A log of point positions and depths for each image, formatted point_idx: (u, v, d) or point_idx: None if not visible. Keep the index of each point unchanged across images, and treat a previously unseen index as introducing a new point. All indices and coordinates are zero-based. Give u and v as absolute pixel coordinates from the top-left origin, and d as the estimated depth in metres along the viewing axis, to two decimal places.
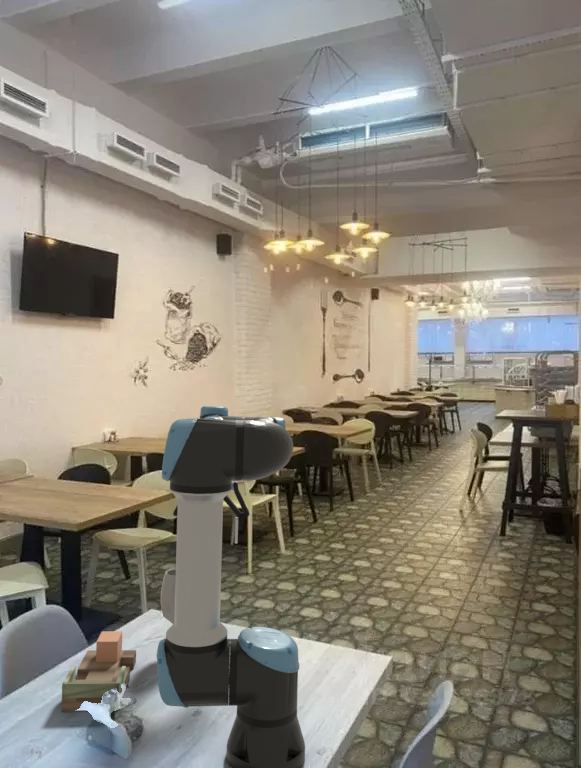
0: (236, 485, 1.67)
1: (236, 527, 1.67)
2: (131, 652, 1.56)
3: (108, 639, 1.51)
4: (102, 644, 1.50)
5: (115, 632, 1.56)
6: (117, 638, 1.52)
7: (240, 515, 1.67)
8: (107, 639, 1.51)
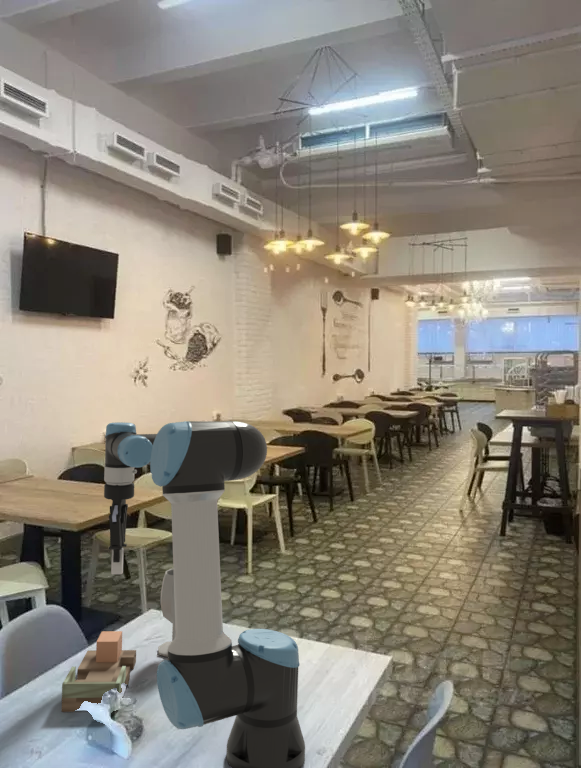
0: None
1: None
2: (131, 652, 1.56)
3: (108, 639, 1.51)
4: (102, 644, 1.50)
5: (115, 632, 1.56)
6: (117, 638, 1.52)
7: None
8: (107, 639, 1.51)
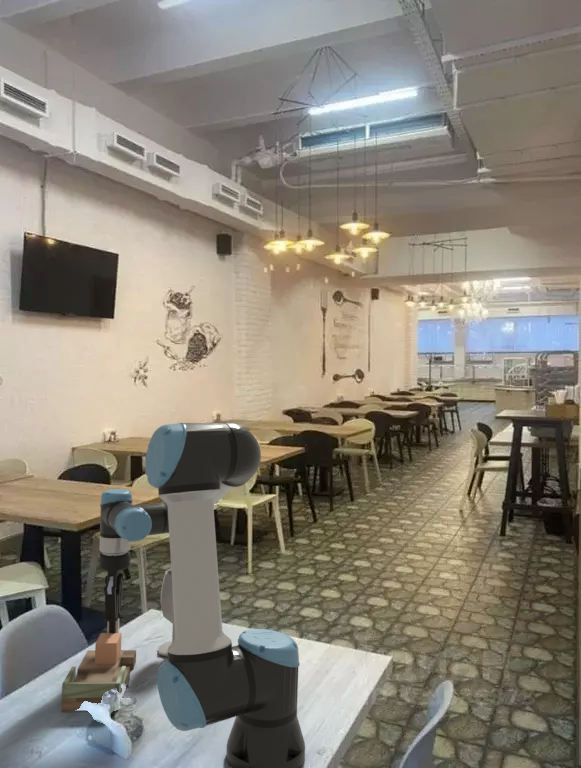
0: None
1: None
2: (131, 652, 1.56)
3: (107, 641, 1.50)
4: (101, 645, 1.49)
5: (114, 633, 1.55)
6: (116, 640, 1.51)
7: None
8: (106, 641, 1.50)
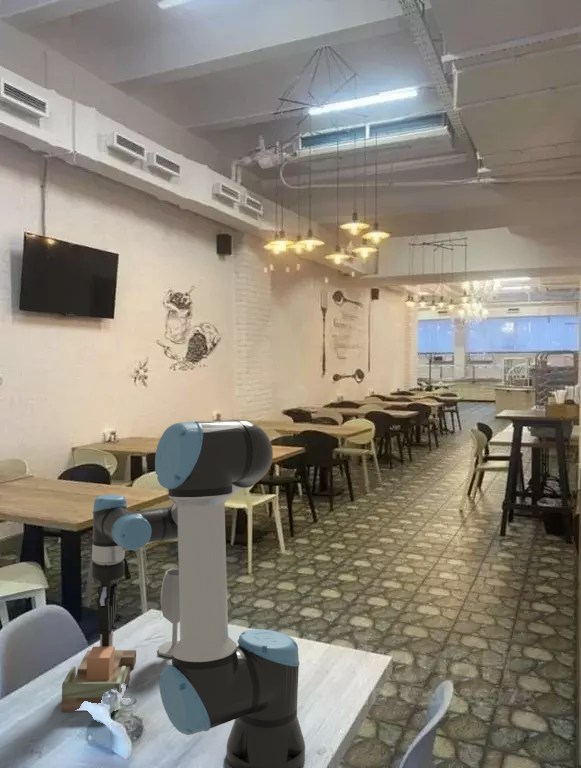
0: None
1: None
2: (131, 652, 1.56)
3: (99, 656, 1.42)
4: (92, 660, 1.41)
5: (107, 647, 1.47)
6: (109, 654, 1.43)
7: None
8: (98, 655, 1.43)
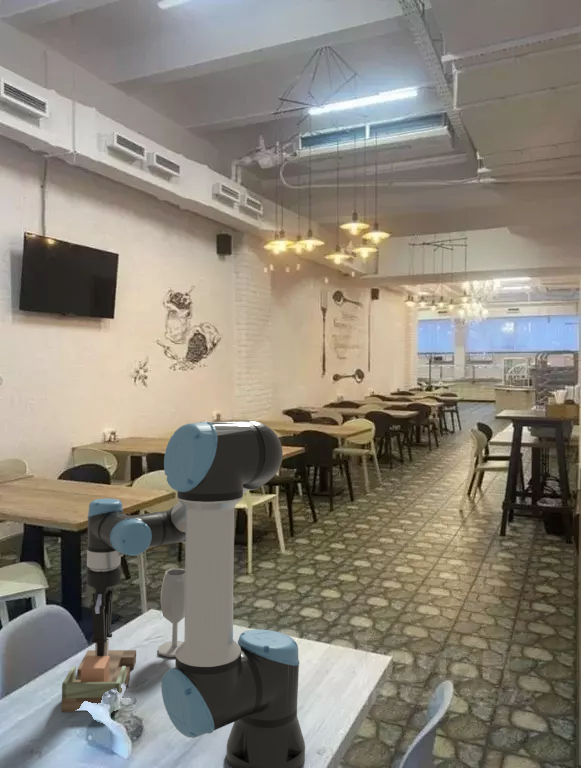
0: None
1: None
2: (131, 652, 1.56)
3: (94, 666, 1.37)
4: (87, 671, 1.36)
5: (102, 656, 1.42)
6: (104, 664, 1.38)
7: None
8: (92, 665, 1.38)
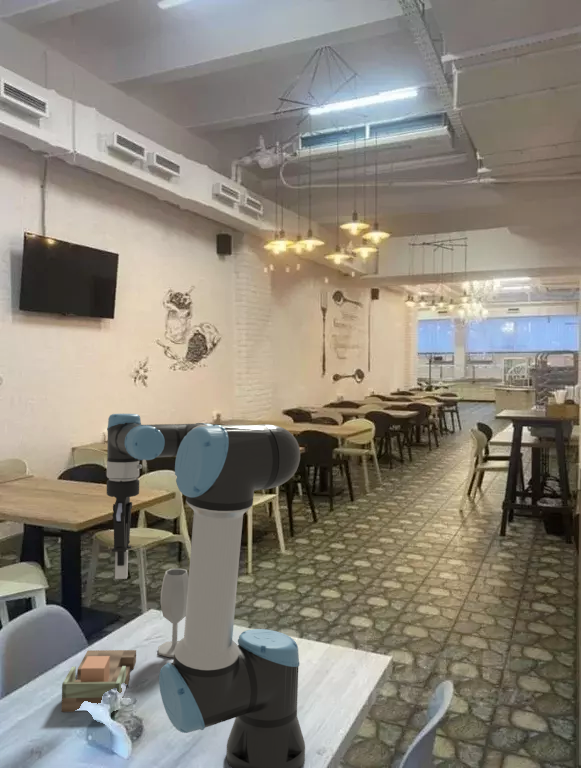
0: None
1: None
2: (131, 652, 1.56)
3: (94, 666, 1.37)
4: (86, 671, 1.36)
5: (102, 656, 1.42)
6: (104, 664, 1.38)
7: None
8: (92, 665, 1.38)
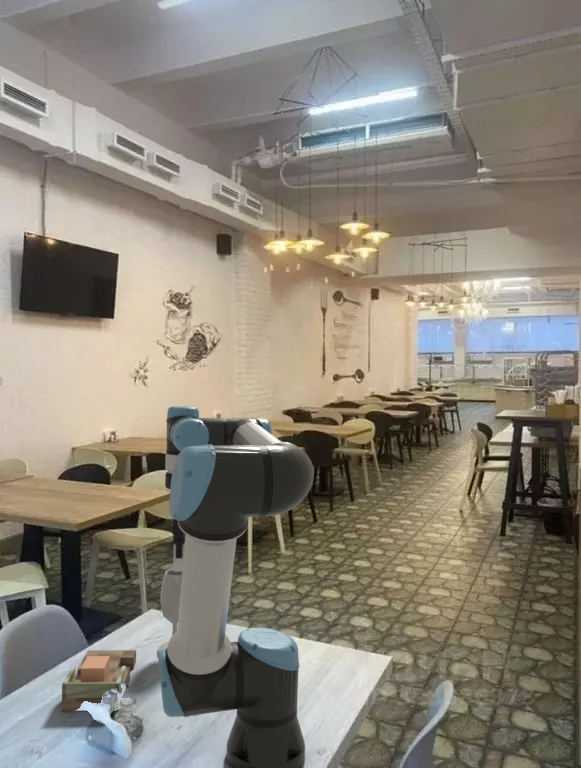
0: None
1: None
2: (131, 652, 1.56)
3: (94, 666, 1.37)
4: (86, 671, 1.36)
5: (102, 656, 1.42)
6: (104, 664, 1.38)
7: None
8: (92, 665, 1.38)
